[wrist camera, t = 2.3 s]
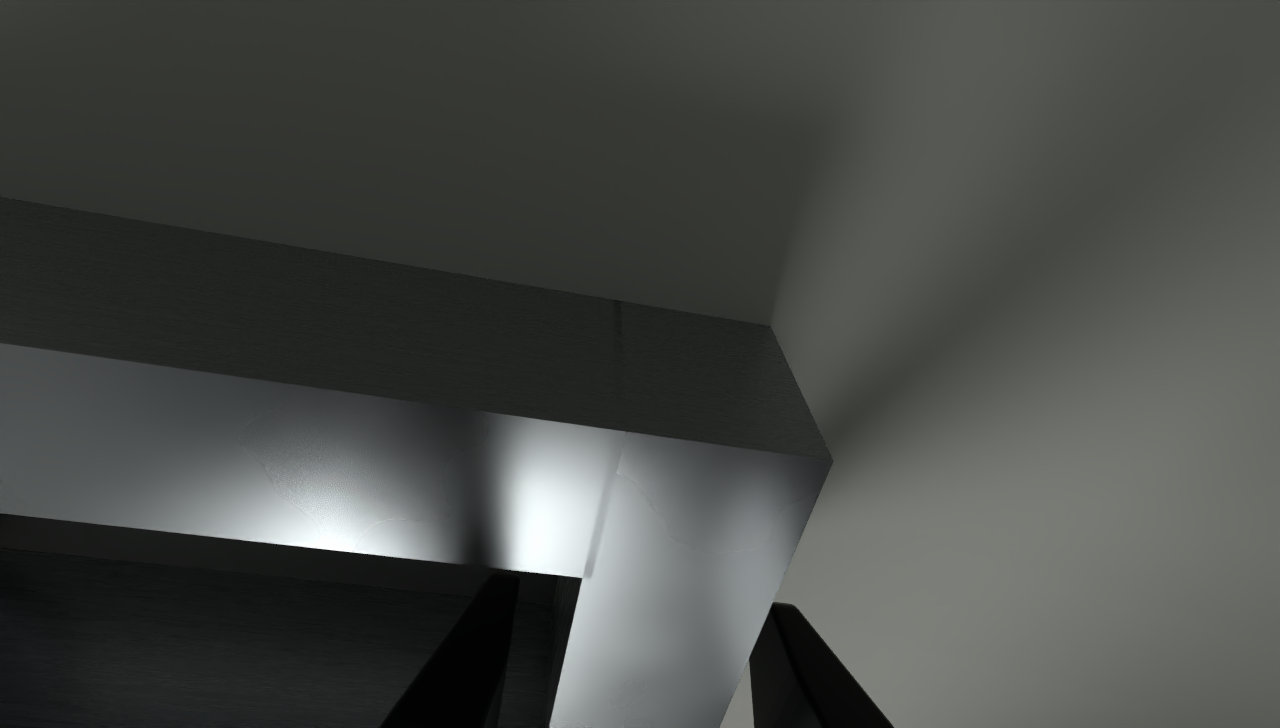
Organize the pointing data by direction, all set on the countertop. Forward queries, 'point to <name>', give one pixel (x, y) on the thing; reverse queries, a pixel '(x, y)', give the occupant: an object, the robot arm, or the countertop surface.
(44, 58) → the countertop surface
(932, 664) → the countertop surface
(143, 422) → the metal u-shaped bracket
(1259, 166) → the countertop surface
